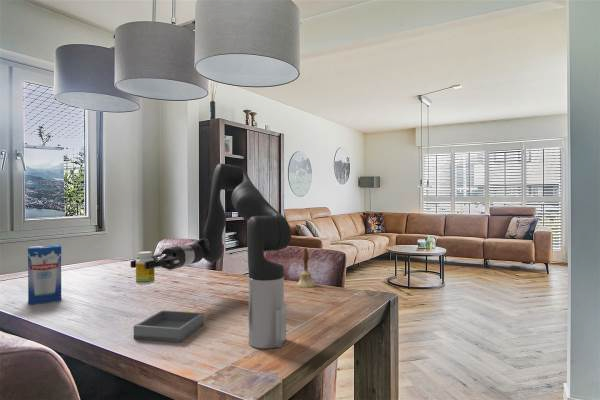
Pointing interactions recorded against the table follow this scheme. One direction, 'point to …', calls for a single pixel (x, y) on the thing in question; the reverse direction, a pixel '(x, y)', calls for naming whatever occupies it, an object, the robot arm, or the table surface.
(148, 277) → the supplement bottle
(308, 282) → the hand bell
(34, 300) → the milk carton
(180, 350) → the table surface
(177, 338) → the tray
